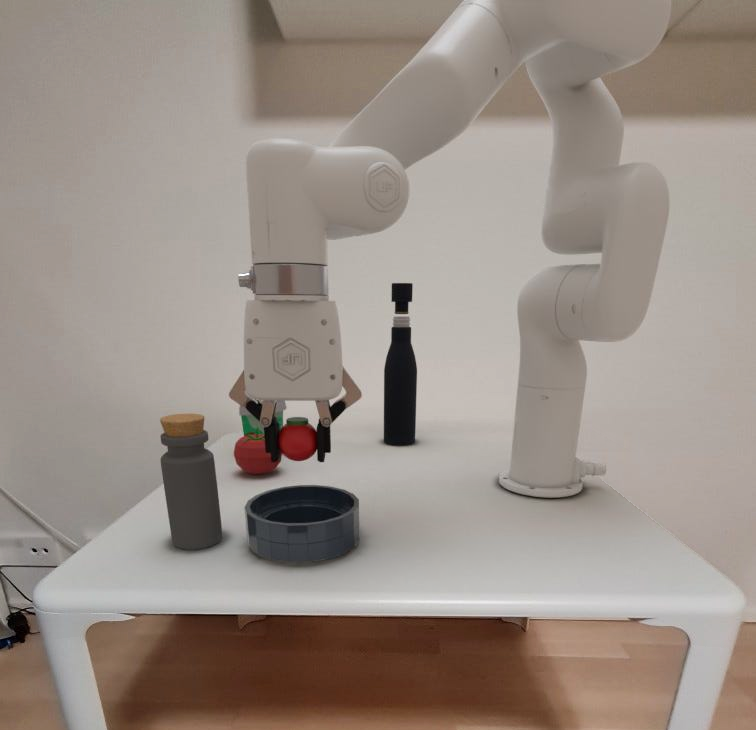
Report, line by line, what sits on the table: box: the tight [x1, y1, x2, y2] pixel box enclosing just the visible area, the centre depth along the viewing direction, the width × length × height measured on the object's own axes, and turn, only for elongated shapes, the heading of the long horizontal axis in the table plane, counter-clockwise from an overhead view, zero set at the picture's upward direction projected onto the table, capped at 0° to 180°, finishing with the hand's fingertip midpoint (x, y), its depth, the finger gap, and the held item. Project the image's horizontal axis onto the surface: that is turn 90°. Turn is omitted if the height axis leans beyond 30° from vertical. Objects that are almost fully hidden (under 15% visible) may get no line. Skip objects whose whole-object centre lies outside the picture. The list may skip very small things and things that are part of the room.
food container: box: [238, 399, 287, 436], centre depth 102 cm, size 12×6×10 cm, turn 168°
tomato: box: [233, 427, 283, 475], centre depth 90 cm, size 8×8×8 cm
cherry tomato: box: [278, 416, 317, 462], centre depth 61 cm, size 5×5×5 cm
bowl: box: [244, 484, 361, 563], centre depth 65 cm, size 13×13×5 cm
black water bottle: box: [383, 282, 418, 447], centre depth 105 cm, size 6×6×30 cm
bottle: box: [159, 413, 223, 551], centre depth 63 cm, size 6×6×15 cm
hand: (298, 457), depth 62 cm, fingers closed on cherry tomato, 4 cm apart
